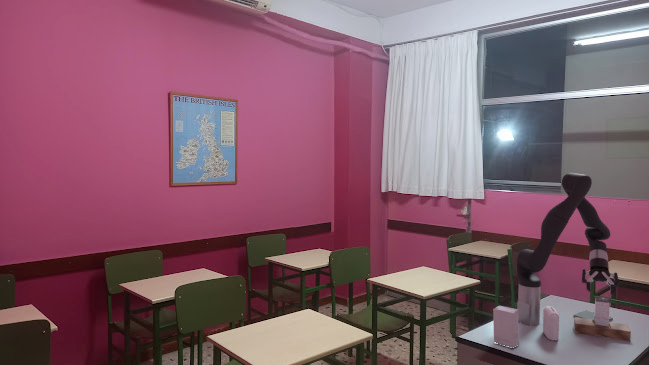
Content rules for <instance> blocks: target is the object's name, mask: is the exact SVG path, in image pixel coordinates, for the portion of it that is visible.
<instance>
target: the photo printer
mask: <svg viewBox="0 0 649 365" xmlns="http://www.w3.org/2000/svg"><path fill="white" fill-rule="evenodd" d="M542 311H543V312H542V313H543V314H542V315H543V316H542V318H543V319H542V333H543V334H544V335H545V337H547V339H548V340H550V341H553V340H555V341H558V340H559V335H560V333H559V331H560V315H559V313H558V311H557V310H556V309H555V307H553V306H552V305H551V306H550V305H549V306H548V305H546V306H544V308H543V310H542Z"/></svg>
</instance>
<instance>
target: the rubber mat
mask: <svg viewBox="0 0 649 365" xmlns="http://www.w3.org/2000/svg"><path fill="white" fill-rule="evenodd" d="M594 314H595V311H594V312H593V311H592V310H591V311H590V310H583V311H580V312H578V313H575V314H573V316H572V317H573V318H574V317H578V318H585V319H592V320H594ZM613 318H614V317H612V316H609V322H612V321H613V320H614V319H613Z"/></svg>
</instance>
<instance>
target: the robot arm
mask: <svg viewBox="0 0 649 365" xmlns="http://www.w3.org/2000/svg"><path fill="white" fill-rule="evenodd" d="M592 182H593V181H592V178H591V177H590V176H589V175H588V174H587V175H586V174H582V173H576V172H575V173H574V172H568V173H565V175H563V177H562V179H561V187H562V189H563V191H564V192H565V193H566V195H567V197H566V198H565V199H564V200H563V201H561V202H559V203H558V204H556V205H555V206H553V207H552V208H550V209H549V211H548V212H547V214H546V215H545V217H544V218H543V221H542V223H541V225H540V227H541V228H540V241H539V242H538V244H537V246H536V247H535V249H534V250H532V249H528V248H524V249H521V250H520V251H519V252H518V253H517V258H516V275H517V279H518V294H517V295H518V297H517V298H518V299H517V302H516V304H517V305H516V309H518V321H519V323H521V324H525V325H527V326H535V325H536V326H537V325H539V324H540V322H541V320H540V319H541V292H542V290H541V289H542V288H541V286H542V281H541V279H540V278H539V277H538V275H537V274H536V273H539V272H541V271H542V270H543V269H544V268H545V267H546V265H547V263H548V260H549V259H550V256H551V254H552V251H553V249H554V247H555V245H556V244H557V242H558V240H559V238H560V237H561V234H562V233H563V231H564V230H565V229H566V227H567V226H568V223H569V221H570V219H571V217H572V216H573V215H574V213H575V211H576V210H577V211H578V213H579V215H580V217H581V220H582V222H583V224H584V226H586V227H587V228H585V229H584V235H585V238H586V240H587V242H588V245H589V246H588V247H589V257H588V258H589V260H588V261H589V270H586V269H584V268H583V269H582V271H581V283H582V284H585V285H586V287H585V288H586V291H587V292H588V293H591V283H593V282H594V281H595V282H602V283H604V282H605V284H607V285H608V286H609V291H610V292H609V294H610V295H613V294H614V293H615V288H617V287H619V282H620V280H619V276H618V273H617V272H616V271H615V272H614V273H610V270H609V269H610V268H609V267H610V266H609V256H608V251H607V250H608V247H607V244H606V242H604V241H606V240H609V239H610V238H611V237H610V236H611V231H610V229H609V227H608V226H607V225H606V224H605V223H604V222H603V220H602V219H601V218H600V216H599V214H598V212H597V209H596V208H595V206H594V205H593V204H592V203H591V202H590V201H589V200H588V199H587V198H586V196H587V194H588V193H589V191H590V189H591V187H592V184H593V183H592ZM588 275H589V277H588V278H587V279H586V276H588ZM611 278H612V279H613V280H614V282H613V281H612V279H611Z"/></svg>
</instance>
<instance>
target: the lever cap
mask: <svg viewBox="0 0 649 365" xmlns="http://www.w3.org/2000/svg"><path fill="white" fill-rule="evenodd" d="M594 313H595V314H594V325H595V326H600V327H607V328H609V322H610V321H609V317H610V298H605V297H598V296H596V297H595V298H594Z"/></svg>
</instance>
